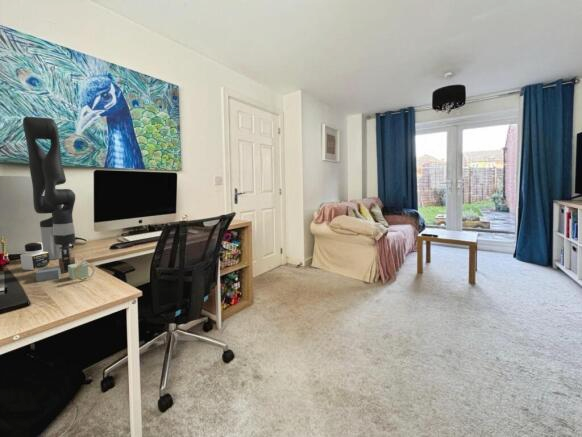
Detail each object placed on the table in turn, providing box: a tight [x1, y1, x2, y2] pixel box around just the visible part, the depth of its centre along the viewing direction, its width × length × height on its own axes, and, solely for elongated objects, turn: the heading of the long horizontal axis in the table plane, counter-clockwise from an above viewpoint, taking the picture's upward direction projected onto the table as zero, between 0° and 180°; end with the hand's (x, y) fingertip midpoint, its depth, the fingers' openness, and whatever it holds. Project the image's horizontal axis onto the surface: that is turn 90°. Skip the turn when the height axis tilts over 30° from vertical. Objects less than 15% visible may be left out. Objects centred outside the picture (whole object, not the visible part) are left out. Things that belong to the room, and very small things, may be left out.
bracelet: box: [74, 261, 96, 282], centre depth 113 cm, size 7×3×8 cm, turn 134°
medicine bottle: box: [20, 241, 51, 271], centre depth 128 cm, size 7×7×12 cm
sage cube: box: [67, 261, 90, 281], centre depth 117 cm, size 6×6×6 cm
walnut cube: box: [58, 256, 76, 274], centre depth 125 cm, size 6×6×6 cm
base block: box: [35, 265, 62, 283], centre depth 116 cm, size 7×7×4 cm
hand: (67, 268), depth 126 cm, fingers open, 6 cm apart
